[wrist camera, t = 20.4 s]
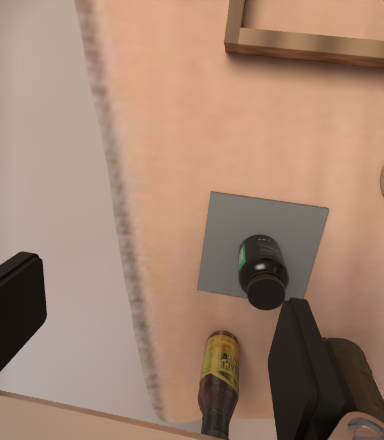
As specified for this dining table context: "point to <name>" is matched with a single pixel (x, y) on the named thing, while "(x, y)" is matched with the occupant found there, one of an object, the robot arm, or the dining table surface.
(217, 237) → the mat
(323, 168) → the dining table surface
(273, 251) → the supplement bottle
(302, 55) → the crate
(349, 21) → the dining table surface
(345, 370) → the beer stein
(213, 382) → the sauce bottle
